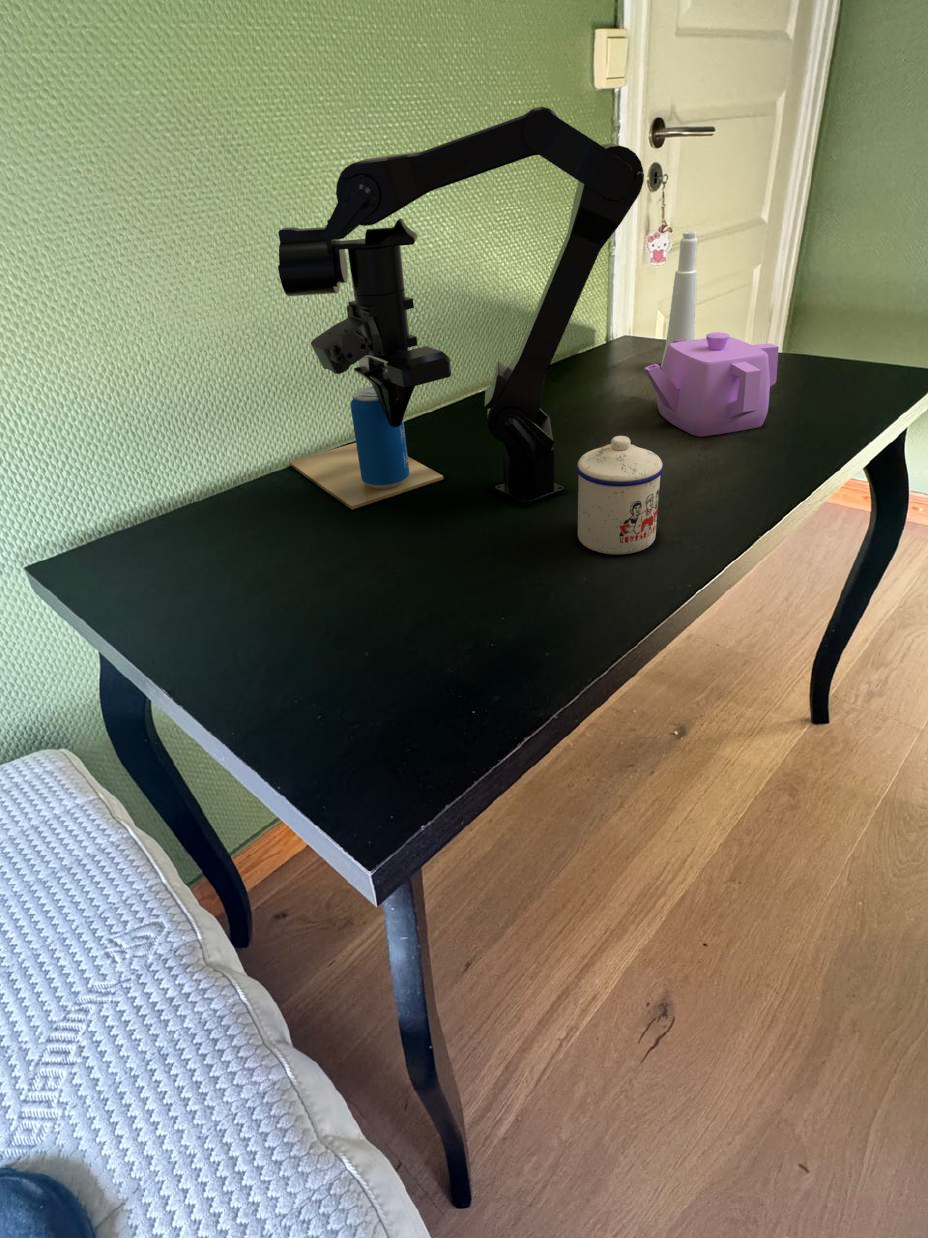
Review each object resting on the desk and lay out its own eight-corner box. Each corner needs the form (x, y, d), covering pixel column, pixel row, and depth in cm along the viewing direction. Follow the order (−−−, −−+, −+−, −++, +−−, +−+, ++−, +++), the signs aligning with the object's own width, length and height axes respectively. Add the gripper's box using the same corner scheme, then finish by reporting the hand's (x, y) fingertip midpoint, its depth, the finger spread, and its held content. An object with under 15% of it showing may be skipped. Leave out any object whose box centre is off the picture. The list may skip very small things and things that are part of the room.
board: (443, 479, 103) (443, 475, 103) (351, 509, 97) (351, 506, 97) (373, 440, 117) (373, 437, 117) (289, 465, 111) (288, 461, 111)
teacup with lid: (629, 565, 81) (635, 461, 74) (559, 542, 86) (559, 443, 80) (685, 523, 88) (695, 424, 81) (617, 504, 93) (622, 410, 87)
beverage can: (402, 491, 99) (391, 400, 93) (355, 490, 101) (341, 400, 94) (415, 471, 104) (405, 384, 98) (370, 471, 106) (358, 384, 99)
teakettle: (753, 444, 106) (766, 353, 99) (635, 430, 113) (640, 344, 106) (778, 406, 118) (792, 322, 111) (670, 395, 125) (676, 317, 118)
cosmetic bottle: (701, 365, 138) (716, 230, 125) (682, 374, 134) (695, 235, 122) (673, 360, 141) (684, 228, 129) (653, 368, 138) (663, 233, 126)
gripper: (279, 292, 88) (303, 423, 97) (354, 315, 75) (374, 465, 84) (364, 276, 93) (380, 403, 102) (448, 296, 80) (458, 439, 88)
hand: (395, 426), depth 94 cm, fingers closed
